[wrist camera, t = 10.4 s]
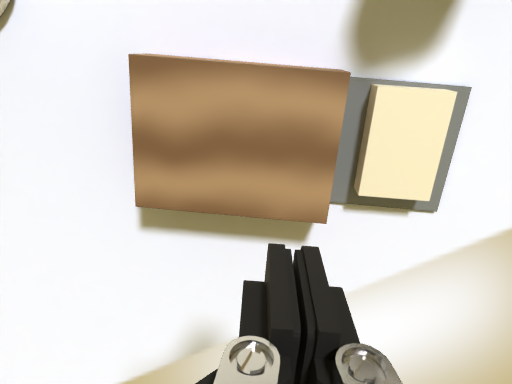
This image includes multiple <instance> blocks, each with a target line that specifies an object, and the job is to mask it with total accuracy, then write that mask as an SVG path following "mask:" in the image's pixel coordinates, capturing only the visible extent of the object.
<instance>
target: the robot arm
mask: <svg viewBox="0 0 512 384" xmlns="http://www.w3.org/2000/svg"><path fill="white" fill-rule="evenodd" d="M9 2H10V0H0V16H1V15H2V14H3V12H4V10H5V8H6V7H7V5H8V3H9ZM196 384H402V382H401V380H400V378H399V376H398V375H397V373H396V371H395V370H394V368H393V366H392V364H391V363H390V361H389V360H388V359H387V357H386V356H385V355H383V354H382V353H381V352H380V351H378V350H376V349H374V348H373V347H371V346H368V345H365V344H360V342H359V338H358V335H357V332H356V329H355V326H354V323H353V320H352V317H351V313H350V311H349V307H348V304H347V301H346V298H345V295H344V291H343V289H342V288H341V287H329V285H328V281H327V277H326V273H325V270H324V266H323V262H322V258H321V255H320V251H319V248H318V247H311V246H302V247H301V250H295V253H294V261H293V262H292V255H291V249H285V245H284V244H270V243H269V244H268V252H267V262H266V272H265V282H260V281H246V280H244V283H243V295H242V308H241V320H240V332H239V338H237V339H235V340H233V341H232V342H230V343H229V344H228V345H227V347H226V349H225V350H224V352H223V355H222V358H221V362H220V365H219V368H218V369H216V370H215V371H213V372H212V373H210V374H209V375H207V376H206V377H205V378H203V379H202V380H200V381H199V382H197V383H196Z"/></svg>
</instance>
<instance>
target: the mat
mask: <svg viewBox="0 0 512 384" xmlns="http://www.w3.org/2000/svg"><path fill="white" fill-rule="evenodd" d="M372 84H380V85H393V86H407V87H421V88H435V89H447V90H451V91H455V92H457V96H456V99H455V103H454V107H453V111H452V115H451V119H450V123H449V127H448V131H447V134H446V138H445V142H444V146H443V150H442V154H441V158H440V162H439V166H438V170H437V173H436V177H435V181H434V185H433V189H432V193H431V197H430V201H421V200H409V199H396V198H383V197H371V196H358V194H357V192H356V190H355V189H354V183H355V177H356V171H357V166H358V160H359V154H360V148H361V143H362V137H363V131H364V125H365V119H366V114H367V108H368V102H369V96H370V91H371V85H372ZM471 88H472V87H465V86H453V85H441V84H429V83H417V82H405V81H393V80H381V79H369V78H356V77H350V81H349V87H348V93H347V99H346V105H345V111H344V118H343V124H342V130H341V136H340V142H339V148H338V155H337V161H336V167H335V173H334V179H333V185H332V192H331V198H330V202H337V203H348V204H359V205H370V206H381V207H392V208H403V209H415V210H426V211H437V209H438V206H439V202H440V198H441V195H442V191H443V188H444V184H445V181H446V177H447V173H448V170H449V166H450V163H451V159H452V156H453V152H454V149H455V145H456V141H457V138H458V134H459V131H460V127H461V124H462V120H463V116H464V113H465V109H466V106H467V102H468V99H469V95H470V91H471Z"/></svg>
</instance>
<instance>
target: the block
mask: <svg viewBox="0 0 512 384" xmlns="http://www.w3.org/2000/svg"><path fill="white" fill-rule="evenodd" d="M456 96H457V92H455V91H451V90H447V89H435V88H421V87H407V86H393V85H380V84H372V85H371V91H370V96H369V102H368V108H367V114H366V119H365V125H364V131H363V137H362V143H361V148H360V154H359V160H358V166H357V171H356V177H355V183H354V189H355V190H356V192H357V194H358V196H371V197H383V198H396V199H409V200H421V201H430V197H431V193H432V189H433V185H434V181H435V177H436V173H437V170H438V166H439V162H440V158H441V154H442V150H443V146H444V142H445V138H446V134H447V131H448V127H449V123H450V119H451V115H452V111H453V107H454V103H455V99H456Z"/></svg>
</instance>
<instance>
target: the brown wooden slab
mask: <svg viewBox="0 0 512 384" xmlns="http://www.w3.org/2000/svg"><path fill="white" fill-rule="evenodd" d="M129 74H130V96H131V117H132V139H133V160H134V181H135V203H136V207H147V208H158V209H169V210H180V211H191V212H202V213H213V214H224V215H235V216H246V217H257V218H268V219H279V220H290V221H301V222H311V223H322V224H326V222H327V216H328V210H329V204H330V198H331V192H332V185H333V179H334V173H335V167H336V161H337V155H338V148H339V142H340V136H341V130H342V124H343V118H344V111H345V105H346V99H347V93H348V87H349V81H350V74H351V73H350V72H347V71H344V70H338V69H326V68H314V67H302V66H290V65H278V64H266V63H254V62H242V61H230V60H218V59H206V58H194V57H182V56H169V55H157V54H129Z"/></svg>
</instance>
